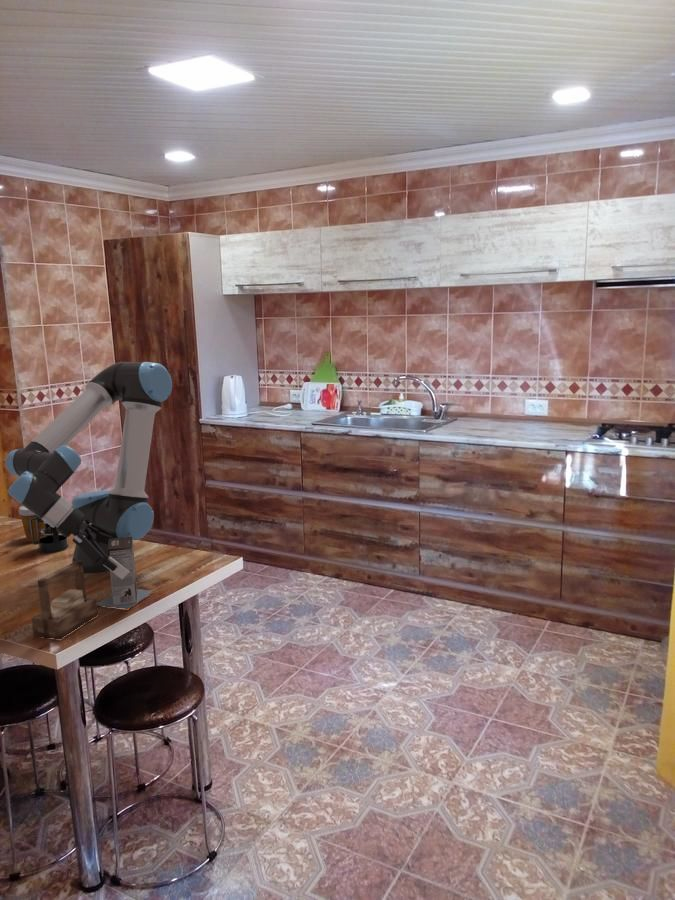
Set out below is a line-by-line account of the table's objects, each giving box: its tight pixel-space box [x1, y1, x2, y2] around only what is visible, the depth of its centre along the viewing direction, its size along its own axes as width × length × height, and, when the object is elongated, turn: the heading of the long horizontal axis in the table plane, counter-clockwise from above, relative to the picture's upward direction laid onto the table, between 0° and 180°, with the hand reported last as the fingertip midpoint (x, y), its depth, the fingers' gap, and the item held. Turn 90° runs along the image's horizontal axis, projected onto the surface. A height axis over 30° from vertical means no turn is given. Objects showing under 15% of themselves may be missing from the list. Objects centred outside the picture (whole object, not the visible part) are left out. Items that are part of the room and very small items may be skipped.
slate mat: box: [97, 588, 153, 609], centre depth 185 cm, size 12×10×1 cm
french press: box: [30, 515, 69, 554], centre depth 226 cm, size 12×9×23 cm
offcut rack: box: [31, 560, 99, 639], centre depth 168 cm, size 14×8×15 cm, turn 161°
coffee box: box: [108, 537, 138, 605], centre depth 183 cm, size 9×6×16 cm
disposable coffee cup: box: [18, 505, 46, 543], centre depth 237 cm, size 10×10×12 cm
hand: (128, 566), depth 183 cm, fingers open, 13 cm apart
